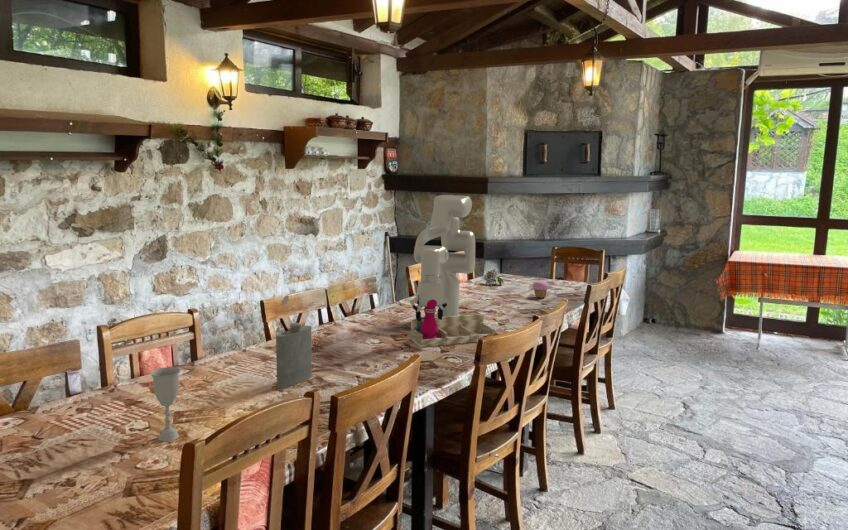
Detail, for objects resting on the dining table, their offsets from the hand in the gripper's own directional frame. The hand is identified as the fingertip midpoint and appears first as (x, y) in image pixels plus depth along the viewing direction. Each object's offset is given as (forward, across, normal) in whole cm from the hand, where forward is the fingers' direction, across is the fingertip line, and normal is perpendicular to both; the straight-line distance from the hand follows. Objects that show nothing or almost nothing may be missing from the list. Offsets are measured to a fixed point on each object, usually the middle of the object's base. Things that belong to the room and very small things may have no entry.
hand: (429, 319), depth 261 cm
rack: (+9, -11, 0) cm, 14 cm away
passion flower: (+10, -87, -111) cm, 141 cm away
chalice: (+10, +99, +65) cm, 119 cm away
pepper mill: (+9, 0, 0) cm, 9 cm away
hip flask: (+10, +60, +32) cm, 69 cm away
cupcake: (+10, -94, -67) cm, 116 cm away
